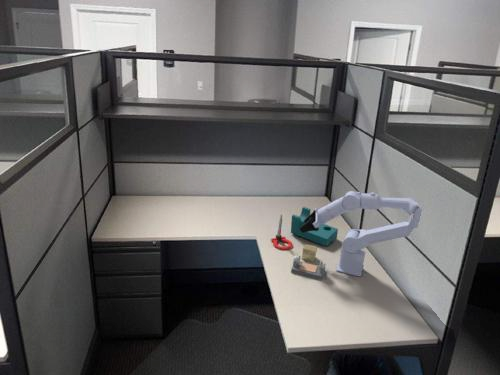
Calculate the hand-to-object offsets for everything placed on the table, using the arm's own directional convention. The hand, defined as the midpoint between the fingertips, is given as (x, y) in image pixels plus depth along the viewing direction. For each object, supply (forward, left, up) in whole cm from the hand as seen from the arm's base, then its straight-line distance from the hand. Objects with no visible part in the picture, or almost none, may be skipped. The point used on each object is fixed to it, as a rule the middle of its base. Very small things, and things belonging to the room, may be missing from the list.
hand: (303, 226), depth 163 cm
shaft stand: (-6, +10, -14) cm, 18 cm away
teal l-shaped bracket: (-2, -20, -14) cm, 25 cm away
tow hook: (+9, -6, -14) cm, 18 cm away
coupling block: (-4, 0, -14) cm, 15 cm away
